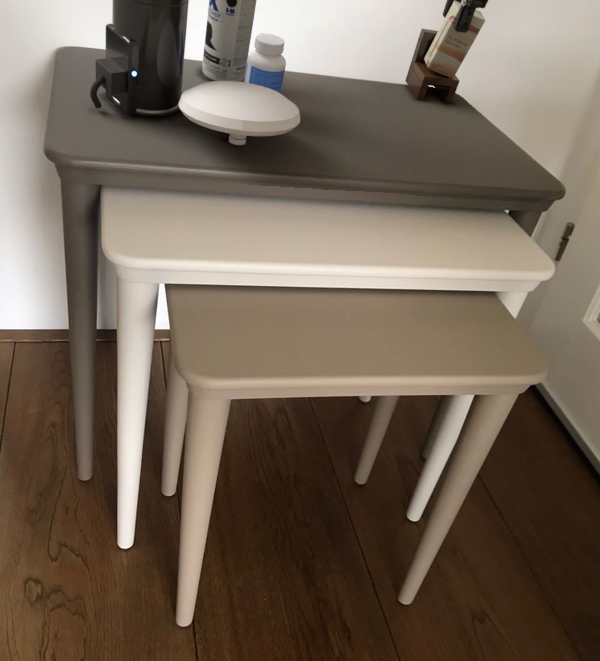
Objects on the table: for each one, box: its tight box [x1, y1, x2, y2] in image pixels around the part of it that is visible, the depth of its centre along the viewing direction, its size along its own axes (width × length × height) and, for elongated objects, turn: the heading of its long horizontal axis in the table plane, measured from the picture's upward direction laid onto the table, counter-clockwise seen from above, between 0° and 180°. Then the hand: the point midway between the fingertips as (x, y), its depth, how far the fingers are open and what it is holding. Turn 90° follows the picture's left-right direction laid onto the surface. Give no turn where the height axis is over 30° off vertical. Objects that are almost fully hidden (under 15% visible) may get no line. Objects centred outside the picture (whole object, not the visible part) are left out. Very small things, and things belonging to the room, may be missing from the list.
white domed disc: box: [178, 80, 301, 146], centre depth 86 cm, size 16×16×7 cm
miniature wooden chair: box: [404, 28, 460, 104], centre depth 112 cm, size 6×7×9 cm
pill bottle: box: [243, 32, 287, 95], centre depth 94 cm, size 6×5×10 cm
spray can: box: [201, 0, 257, 82], centre depth 96 cm, size 7×7×20 cm
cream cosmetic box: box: [424, 0, 486, 78], centre depth 108 cm, size 5×4×10 cm
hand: (454, 24), depth 106 cm, fingers open, 5 cm apart
